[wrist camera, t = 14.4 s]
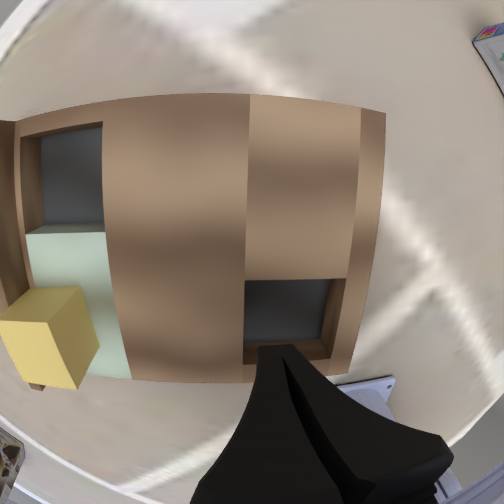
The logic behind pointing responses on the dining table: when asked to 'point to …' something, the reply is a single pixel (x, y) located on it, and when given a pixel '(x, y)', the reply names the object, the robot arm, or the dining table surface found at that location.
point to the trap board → (197, 227)
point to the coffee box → (9, 463)
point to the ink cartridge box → (493, 50)
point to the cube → (50, 336)
